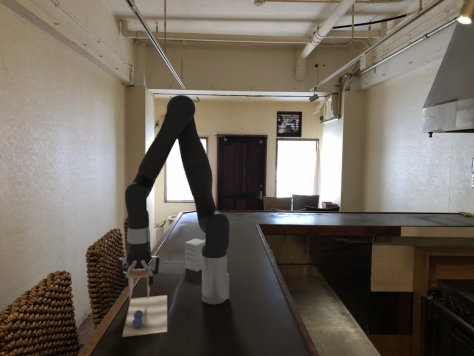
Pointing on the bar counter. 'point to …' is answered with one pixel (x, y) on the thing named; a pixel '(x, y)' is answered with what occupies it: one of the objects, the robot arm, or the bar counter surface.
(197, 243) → the supplement box
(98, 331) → the bar counter surface
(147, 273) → the terracotta cover
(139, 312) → the navy marble back
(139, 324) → the navy marble front
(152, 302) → the birch mat
